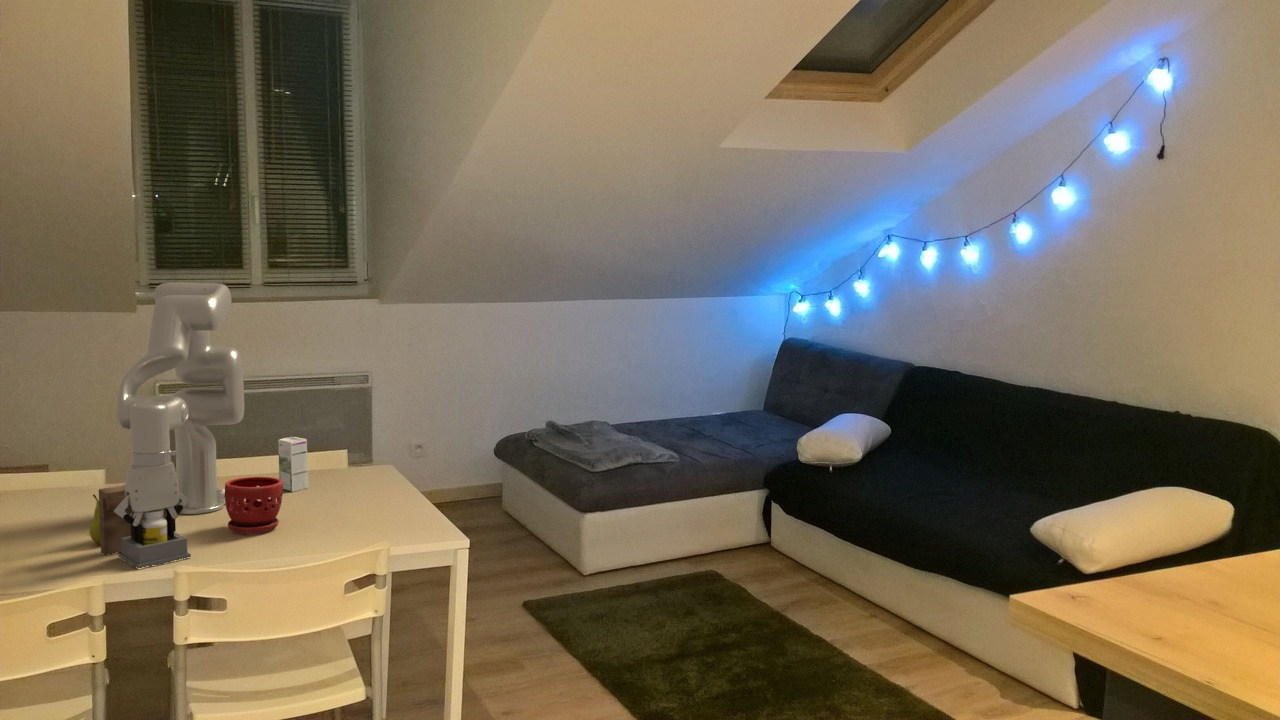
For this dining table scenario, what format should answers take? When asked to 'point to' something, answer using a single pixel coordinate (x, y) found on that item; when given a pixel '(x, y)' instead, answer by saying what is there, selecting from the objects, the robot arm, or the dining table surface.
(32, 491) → the dining table surface
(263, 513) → the plant pot
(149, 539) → the supplement bottle
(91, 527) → the fruit
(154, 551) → the socket
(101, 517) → the wooden block
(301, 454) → the syrup box
